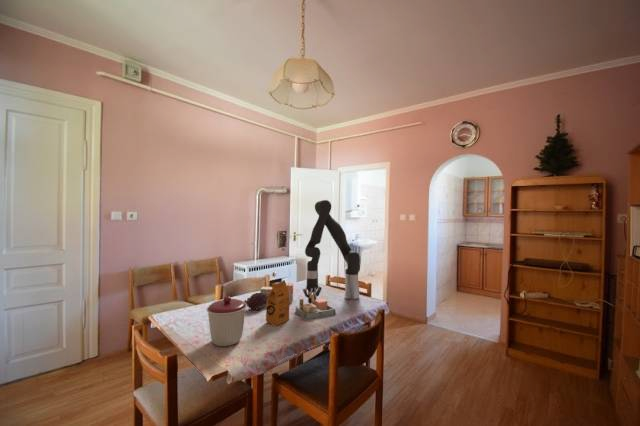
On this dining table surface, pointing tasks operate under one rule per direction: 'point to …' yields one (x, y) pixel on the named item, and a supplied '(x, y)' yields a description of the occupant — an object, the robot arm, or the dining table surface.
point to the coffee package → (278, 304)
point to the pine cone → (256, 300)
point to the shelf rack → (316, 313)
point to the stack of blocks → (268, 289)
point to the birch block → (307, 307)
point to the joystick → (319, 303)
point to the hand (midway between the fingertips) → (312, 302)
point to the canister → (226, 321)
